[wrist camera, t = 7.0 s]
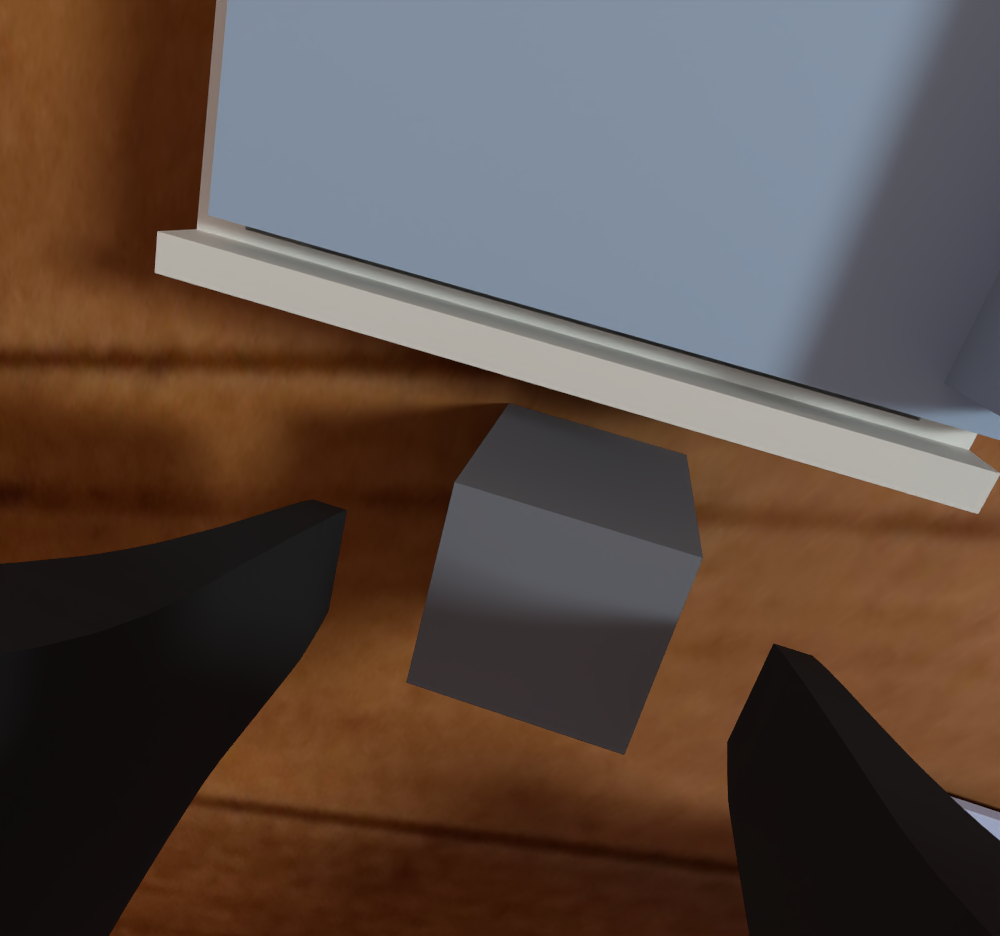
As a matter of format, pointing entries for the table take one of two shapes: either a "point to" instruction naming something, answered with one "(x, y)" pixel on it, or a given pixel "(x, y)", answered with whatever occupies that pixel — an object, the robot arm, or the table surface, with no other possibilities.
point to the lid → (652, 171)
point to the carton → (570, 351)
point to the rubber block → (559, 577)
